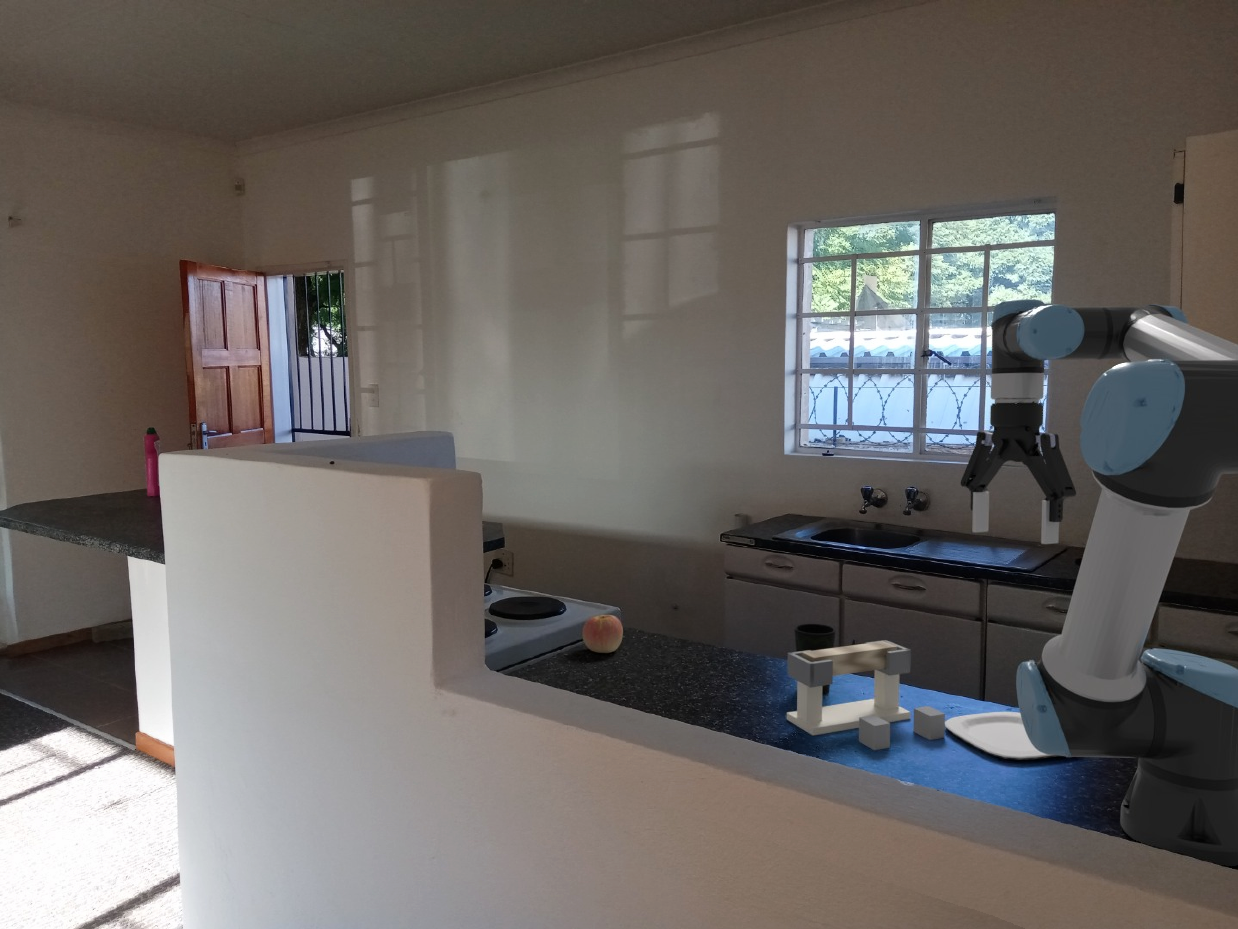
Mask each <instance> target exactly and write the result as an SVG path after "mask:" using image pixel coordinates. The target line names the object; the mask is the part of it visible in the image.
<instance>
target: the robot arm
mask: <svg viewBox="0 0 1238 929" xmlns="http://www.w3.org/2000/svg"><path fill="white" fill-rule="evenodd" d="M1188 322H1189V321H1188V319H1187V316H1186V315H1184V311H1183V310H1182V309H1181V308H1179V307H1178V306H1174V305H1160V304H1151V303H1150V304H1148V305H1127V306H1125V305H1122V306H1117V305H1115V306H1068V305H1065V304H1045V302H1043V301H1042V300H1040V299H1028V298H1025V299H1010V300H1003V301H999V302H997V303H996V304H995V305H994V307H993V312H992V322H991V325H990V327H991V377H990V378H991V383H990V398H991V399H992V400H994V403H991V405H990V413H989V414H990V418H989V419H990V420H989V423H990V425H991V427H993V431H990V430H986V431H978V432H976V436H975V446H974V448H973V449H972V450H973V451H972V453H971V455H970V458H969V460H968V463H967V465H966V467H965V470H964V473H963V475H962V478H961V479H960V486H961V487H965V488H967V489H968V490H969V491H970V492H969V493H970V511H971V512H972V526H971V527H972V533H987V532H989V524H990V523H989V522H990V521H989V520H990V519H989V517H990V516H989V515H990V514H989V513H990V492H989V491H988V490H989V489H988V488H987V487H988V486H989V485H990V483H991V481H992V480H993V479H994V478H995V477H996V475H997V474H998V472H999V471H1000V470H1001V468H1002V467H1003V465H1004V464H1005V463H1007V462H1015V463H1016V462H1017V463H1022V464H1023V465H1024V466H1026V467H1027V468H1028V471H1030V473H1031V474H1032V476H1033V478H1034V480H1035V481H1036V483H1037V484H1038V486H1039V488H1040V489H1041V491H1042V492H1043V493H1044V496H1045V498H1044V499H1042V500H1041V528H1040V529H1041V532H1040V533H1041V534H1040V535H1041V536H1040V537H1041V538H1040V543H1041V545H1051V544H1059V536H1060V535H1059V534H1060V533H1059V532H1060V523H1061V522H1063V518H1064V501H1065V499H1068V498H1072V497H1076V495H1077V490H1076V488H1075V485H1074V483H1073V480H1072V477H1071V475H1070V472H1069V469H1068V467H1067V465H1066V462H1065V459H1064V456H1063V454H1062V451H1061V449H1060V438H1059V437H1060V436H1059V435H1058V434H1057V433H1042V434H1041V432H1040V428H1041V427H1042V426H1043V424H1044V405H1043V403H1042V402H1040V400H1041V399H1043V398H1044V390H1045V389H1044V388H1045V387H1044V385H1045V361H1060V360H1061V361H1072V360H1073V361H1074V360H1076V361H1077V360H1082V361H1083V360H1124V361H1127V362H1123V363H1119V364H1117V365H1115V366H1112V368H1110V369H1108V370H1106V371H1105V372H1104V373H1103V374H1101V375H1100V377H1099V378H1097V380H1096V381H1095V383H1094V384H1093V386H1092V387H1091V389H1090V390H1089V393H1088V395H1087V397H1086V400H1085V402H1084V405H1083V409H1082V412H1081V417H1080V425H1079V427H1081V433H1080V435H1079V446H1080V451H1081V454H1082V457H1083V459H1084V462H1085V463H1086V464H1087V466H1088V467H1089V468H1091V474H1092V476H1093V479H1094V480H1095V481H1096V483H1097V485H1099V486H1100V488H1101V491H1100V495H1099V498H1098V502H1097V506H1096V508H1095V513H1094V516H1093V520H1092V523H1091V526H1090V527H1091V528H1090V530H1089V533H1088V538H1087V541H1086V545H1085V548H1084V552H1083V556H1082V558H1081V563H1080V567H1079V570H1078V574H1077V577H1076V581H1075V584H1074V587H1073V592H1072V595H1071V599H1070V603H1069V606H1068V610H1067V613H1066V617H1065V621H1064V623H1063V628H1062V630H1061V634H1058V635H1056V636H1054V637H1052V638H1051V639H1049V640H1048V641H1047V642H1046V643H1045V644H1044V646H1043V649H1042V652H1041V657H1040V659H1039V661H1035V660H1034V659H1029V660H1027V661H1022V662H1020V664H1019V665H1018V667H1017V671H1016V677H1015V679H1016V680H1015V681H1016V683H1015V685H1016V695H1017V702H1018V703H1017V704H1018V709H1019V713H1020V714H1021V718H1022V722H1023V725H1024V728H1025V731H1026V734H1027V736H1028V738H1029V740H1030V742H1031V743H1032V745H1033V746H1034V747H1035V748H1036V749H1037V750H1038V751H1040V752H1042V753H1044V754H1050V755H1060V756H1059V757H1066V758H1072V757H1073V758H1074V757H1076V758H1081V757H1082V758H1122V759H1123V758H1125V759H1128V758H1129V759H1138V760H1137V769H1136V772H1135V774H1134V775H1133V778H1132V780H1131V782H1130V784H1129V787H1128V789H1127V791H1126V793H1125V796H1124V799H1123V800H1122V803H1121V806H1120V818H1119V819H1120V821H1119V824H1120V826H1121V828H1122V830H1123V831H1124V832H1125V833H1126V835H1128V836H1129V837H1130V838H1131V839H1133V840H1134V841H1135V840H1136V842H1137V841H1139V842H1141V843H1145V844H1147V845H1151V846H1156V847H1160V848H1164V849H1167V850H1170V851H1172V852H1180V853H1183V854H1186V855H1189V856H1192V857H1195V858H1197V859H1203V860H1208V861H1210V862H1214V863H1217V864H1220V865H1226V866H1225V867H1235V866H1236V867H1238V866H1237V865H1238V668H1236V667H1234V666H1232V665H1230V664H1227V663H1225V662H1222V661H1220V660H1216V659H1213V658H1209V657H1206V656H1203V655H1198V654H1194V653H1190V652H1186V651H1180V650H1174V649H1169V648H1168V649H1167V648H1152V649H1150V648H1148V649H1146V650H1144V651H1143V648H1144V644H1145V641H1146V638H1147V635H1148V632H1149V630H1150V628H1151V625H1152V621H1153V618H1154V616H1155V613H1156V610H1157V607H1158V605H1159V601H1160V598H1161V595H1162V592H1163V590H1164V587H1165V584H1166V581H1167V578H1168V575H1169V572H1170V570H1171V567H1172V564H1173V560H1174V559H1175V558H1174V557H1175V555H1176V552H1177V548H1178V546H1179V544H1180V540H1181V538H1182V535H1183V532H1184V529H1185V526H1186V523H1187V520H1188V516H1189V515H1190V511H1191V510H1194V509H1198V508H1200V507H1202V506H1205V505H1206V504H1208V503H1209V502H1210V501H1211V500H1212V498H1213V496H1214V494H1215V491H1216V489H1217V485H1218V483H1219V480H1220V479H1221V476H1222V475H1224V474H1225V475H1226V474H1227V475H1229V474H1230V475H1232V474H1234V475H1236V474H1237V475H1238V344H1237V343H1235V342H1232V341H1229V340H1227V339H1224V338H1222V337H1221V336H1217V335H1215V334H1212V333H1210V332H1207V331H1205V330H1203V329H1200V328H1198V327H1195V326H1193V325H1190V324H1189V323H1188ZM993 446H994V447H993ZM1040 450H1041V451H1040ZM1142 651H1143V653H1142ZM1141 653H1142V656H1141ZM1140 656H1141V657H1140ZM1139 842H1138V843H1139Z"/></svg>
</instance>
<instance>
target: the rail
mask: <svg viewBox="0 0 1238 929" xmlns="http://www.w3.org/2000/svg"><path fill="white" fill-rule="evenodd" d="M881 641H882V640H881ZM873 642H874V643H867V642H866V643H867V644H865V643H861V644H853V645H846V646H838V647H837V646H836V647H834V648H829V649H822V650H814V651H807V652H802V658H804V659H806V660H808V661H810V662H816V661H823V660H832V661H833V677H834V676H835V677H836V676H843V675H849V674H855V673H862V672H864V673H865V672H868V671H875V670H877V669H884V668H886V662H887V652H888V651H896V650H897V647H896V646H894V645H891V644H889V643H886V642H884V641H882V642H875V641H873Z"/></svg>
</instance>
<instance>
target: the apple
mask: <svg viewBox="0 0 1238 929" xmlns="http://www.w3.org/2000/svg"><path fill="white" fill-rule="evenodd" d="M623 634H624V629H623V625H622V622H621V620H620V619H619V618H618V617H617V616H615V615H612V614H599V615H595V616H592V617H590V618H588V619H587V620H586V621H585V623H584V625H583V628H582V640H583V642H584V644H585V646H586V648H588V649H589V650H590V651H592V652H594V653H600V654H609V653H612V652H615V651H616V650H617V649H618V648H619V646H620V645H621V643H622V640H623Z"/></svg>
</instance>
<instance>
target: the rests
mask: <svg viewBox="0 0 1238 929" xmlns="http://www.w3.org/2000/svg"><path fill="white" fill-rule="evenodd" d="M945 721H946V713H944V712H942V711H939V710H938V709H936V708H934V707H931V706H929V705H925V706H921V707H920V706H919V707H914V708H913V731H912V732H914V733H916V734H918V735H919V736H921V737H923V738H926V739H927V740H929V741H933V740H937V739H942V738H945V731H946V727H945ZM858 742H860V743H861V744H863V745H864V746H866V747H868V748H870V749H871V750H873V751H878V750H884V749H890V748H891V747H890V744H891V722H887V721H885V720H883V719H881V718H879V717H877V716H875V715H871V716H865V717H859V728H858Z"/></svg>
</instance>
